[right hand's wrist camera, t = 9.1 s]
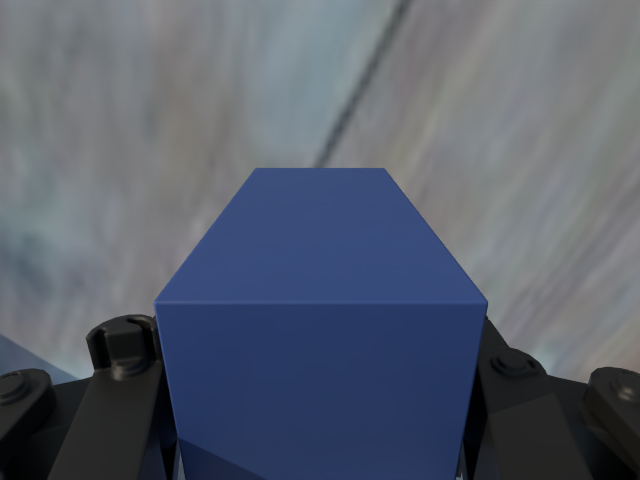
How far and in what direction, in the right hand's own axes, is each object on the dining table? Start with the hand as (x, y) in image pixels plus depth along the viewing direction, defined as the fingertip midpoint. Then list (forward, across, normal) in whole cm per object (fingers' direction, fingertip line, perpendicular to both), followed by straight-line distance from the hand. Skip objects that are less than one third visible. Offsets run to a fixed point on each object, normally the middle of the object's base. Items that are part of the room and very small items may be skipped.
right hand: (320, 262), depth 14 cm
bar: (+1, 0, -11) cm, 11 cm away
